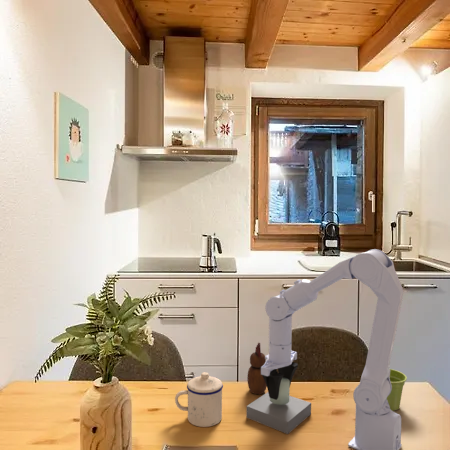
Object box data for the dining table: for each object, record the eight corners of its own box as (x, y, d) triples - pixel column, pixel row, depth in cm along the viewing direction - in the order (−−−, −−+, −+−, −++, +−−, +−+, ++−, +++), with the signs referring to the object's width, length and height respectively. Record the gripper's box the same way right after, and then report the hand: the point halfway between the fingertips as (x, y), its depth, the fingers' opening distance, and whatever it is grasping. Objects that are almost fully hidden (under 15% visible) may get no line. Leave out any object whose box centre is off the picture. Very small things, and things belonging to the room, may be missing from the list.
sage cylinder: (292, 398, 106) (292, 379, 106) (283, 406, 102) (284, 386, 102) (275, 393, 109) (275, 375, 109) (266, 400, 105) (266, 381, 105)
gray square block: (310, 414, 107) (311, 402, 107) (287, 434, 98) (288, 421, 98) (271, 400, 115) (271, 389, 114) (246, 417, 105) (246, 406, 105)
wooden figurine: (266, 397, 116) (266, 345, 115) (245, 395, 117) (246, 343, 116) (268, 387, 123) (269, 337, 122) (249, 385, 124) (249, 336, 123)
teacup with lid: (221, 408, 109) (221, 365, 109) (224, 427, 100) (224, 380, 100) (175, 410, 108) (175, 367, 108) (174, 429, 99) (174, 382, 99)
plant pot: (369, 411, 109) (370, 379, 108) (368, 395, 118) (368, 366, 117) (407, 417, 106) (408, 384, 105) (403, 400, 115) (404, 370, 114)
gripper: (281, 332, 113) (280, 380, 114) (250, 346, 102) (250, 399, 103) (304, 337, 109) (303, 387, 110) (275, 352, 98) (274, 408, 98)
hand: (279, 394), depth 106 cm, fingers closed on sage cylinder, 5 cm apart
